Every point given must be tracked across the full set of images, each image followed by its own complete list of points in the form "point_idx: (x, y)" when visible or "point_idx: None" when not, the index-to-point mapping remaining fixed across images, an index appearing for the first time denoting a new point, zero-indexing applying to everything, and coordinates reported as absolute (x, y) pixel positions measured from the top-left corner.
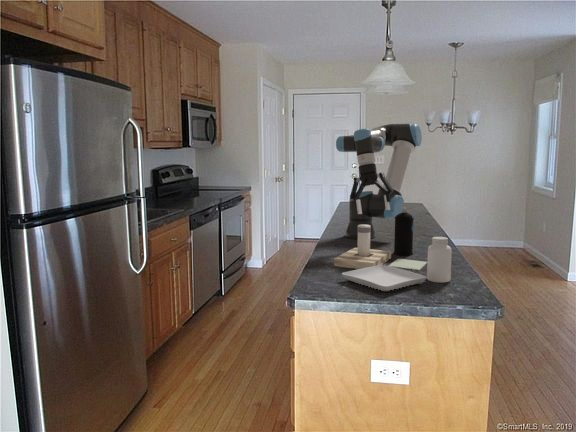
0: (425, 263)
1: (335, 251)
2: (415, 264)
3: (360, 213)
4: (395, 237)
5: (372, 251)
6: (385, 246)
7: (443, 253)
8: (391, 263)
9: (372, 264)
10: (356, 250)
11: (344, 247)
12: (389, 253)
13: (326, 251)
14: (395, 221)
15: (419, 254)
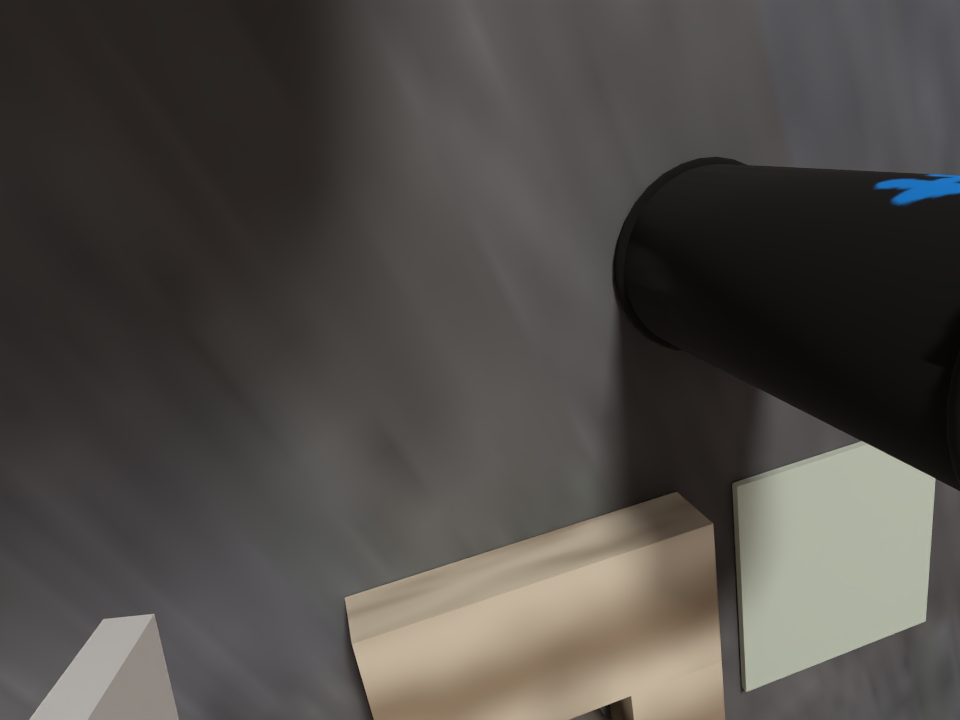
0: None
1: None
2: (884, 540)
3: (172, 712)
4: (753, 383)
5: (580, 642)
6: (390, 21)
7: None
8: (745, 636)
9: None
10: (441, 717)
11: (7, 425)
12: (710, 562)
13: (13, 710)
14: (924, 465)
15: None
